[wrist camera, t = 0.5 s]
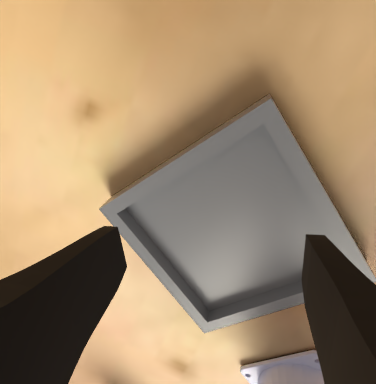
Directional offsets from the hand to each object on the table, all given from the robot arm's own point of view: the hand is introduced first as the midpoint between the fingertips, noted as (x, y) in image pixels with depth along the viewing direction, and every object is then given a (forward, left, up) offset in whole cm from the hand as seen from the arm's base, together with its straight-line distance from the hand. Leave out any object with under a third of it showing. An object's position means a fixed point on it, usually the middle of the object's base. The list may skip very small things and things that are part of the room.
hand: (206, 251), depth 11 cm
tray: (-4, +2, -10) cm, 11 cm away
